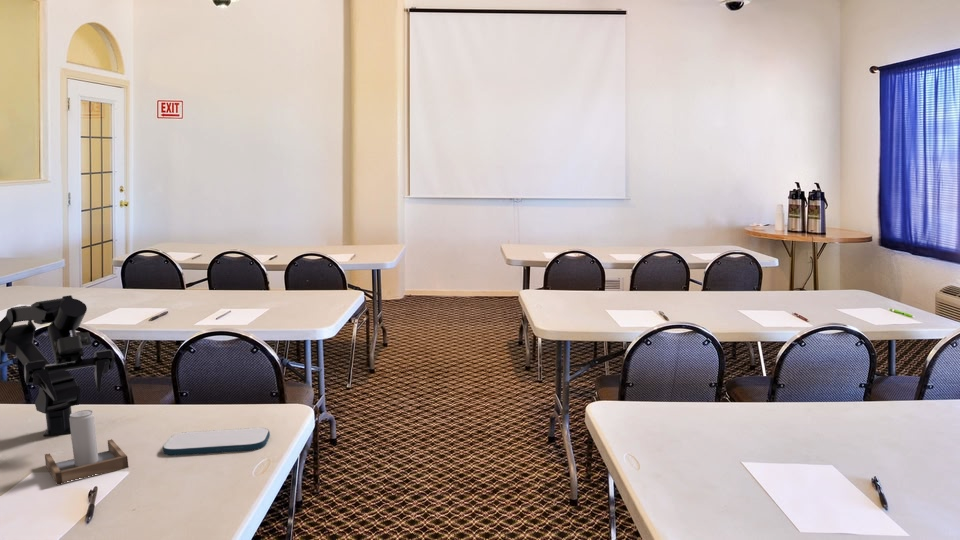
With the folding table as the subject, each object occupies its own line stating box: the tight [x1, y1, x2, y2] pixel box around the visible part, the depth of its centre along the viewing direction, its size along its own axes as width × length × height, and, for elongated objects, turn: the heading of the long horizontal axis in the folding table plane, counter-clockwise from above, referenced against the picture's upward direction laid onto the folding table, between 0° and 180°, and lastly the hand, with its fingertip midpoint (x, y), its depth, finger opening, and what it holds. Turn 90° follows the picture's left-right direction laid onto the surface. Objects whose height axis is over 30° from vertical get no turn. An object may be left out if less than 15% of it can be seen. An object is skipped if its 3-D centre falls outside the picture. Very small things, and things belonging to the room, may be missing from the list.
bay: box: [44, 439, 129, 485], centre depth 163 cm, size 14×14×2 cm
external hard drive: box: [162, 427, 271, 457], centre depth 175 cm, size 24×12×2 cm, turn 97°
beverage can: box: [69, 409, 99, 467], centre depth 163 cm, size 5×5×12 cm
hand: (77, 395), depth 171 cm, fingers open, 9 cm apart
